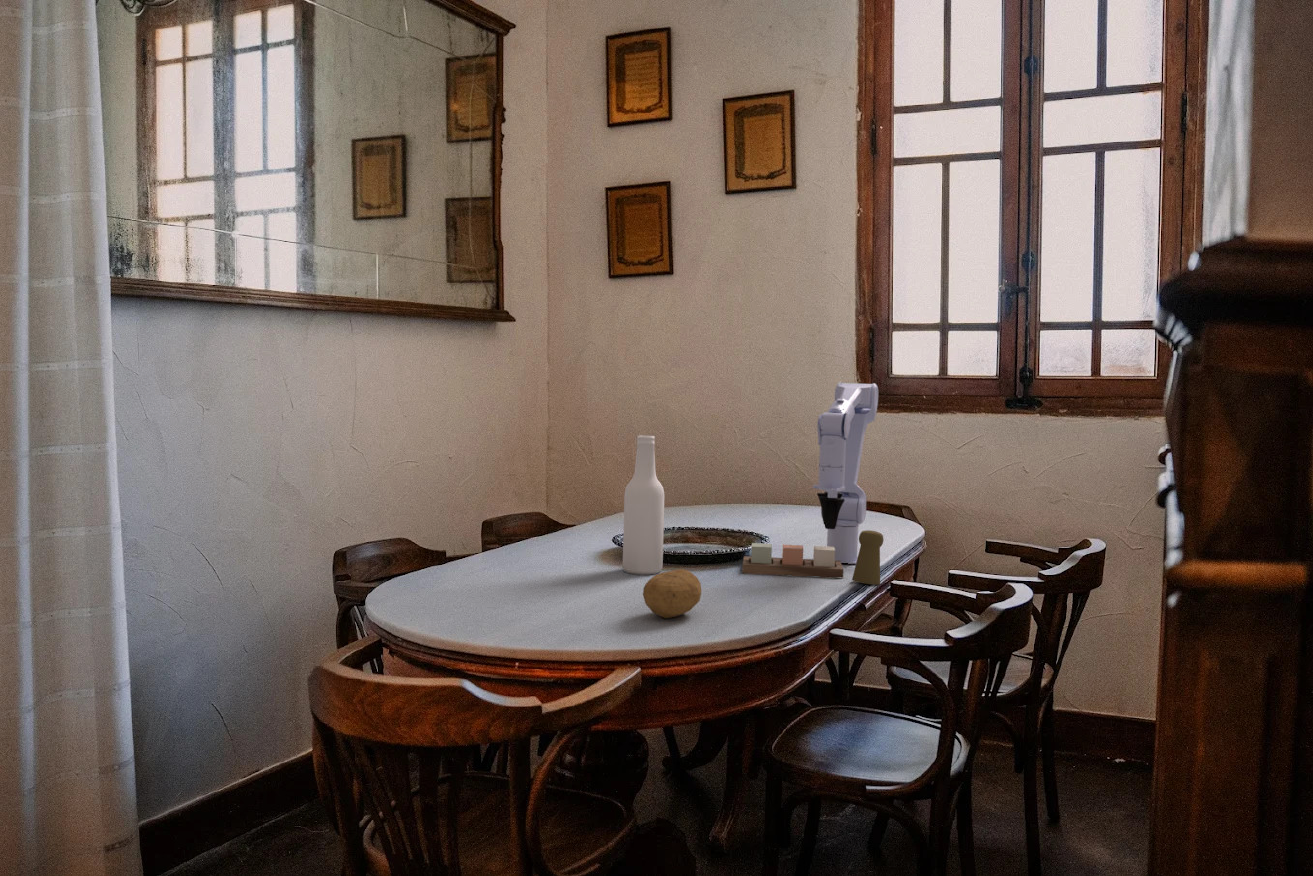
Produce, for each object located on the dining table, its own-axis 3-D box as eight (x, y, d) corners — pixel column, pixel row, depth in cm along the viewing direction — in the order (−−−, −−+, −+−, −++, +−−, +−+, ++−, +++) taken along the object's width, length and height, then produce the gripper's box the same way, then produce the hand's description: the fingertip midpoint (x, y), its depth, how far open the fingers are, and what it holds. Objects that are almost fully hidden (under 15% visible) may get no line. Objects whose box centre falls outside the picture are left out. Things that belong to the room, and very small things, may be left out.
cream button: (813, 563, 234) (813, 545, 234) (833, 564, 233) (834, 546, 233) (814, 567, 229) (814, 549, 229) (834, 568, 229) (835, 550, 229)
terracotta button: (782, 561, 235) (782, 544, 234) (802, 562, 234) (802, 545, 234) (782, 565, 230) (783, 548, 230) (802, 566, 230) (803, 548, 229)
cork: (865, 584, 218) (871, 532, 217) (845, 578, 223) (852, 528, 223) (886, 584, 221) (892, 533, 220) (866, 579, 226) (872, 529, 226)
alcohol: (662, 575, 224) (666, 437, 221) (622, 574, 224) (625, 436, 221) (662, 567, 232) (665, 435, 230) (623, 566, 232) (626, 434, 230)
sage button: (751, 560, 235) (751, 543, 235) (771, 561, 235) (771, 544, 235) (750, 564, 231) (751, 546, 231) (771, 565, 230) (771, 547, 230)
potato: (627, 620, 185) (628, 576, 184) (665, 605, 197) (667, 563, 196) (674, 628, 180) (676, 583, 179) (711, 612, 192) (712, 570, 191)
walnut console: (743, 564, 238) (744, 556, 238) (840, 569, 236) (840, 560, 236) (742, 573, 229) (742, 564, 228) (843, 578, 226) (843, 569, 226)
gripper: (812, 462, 238) (809, 521, 239) (815, 468, 224) (812, 530, 225) (843, 464, 237) (840, 522, 238) (848, 469, 223) (845, 531, 224)
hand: (829, 526), depth 231 cm, fingers open, 6 cm apart
